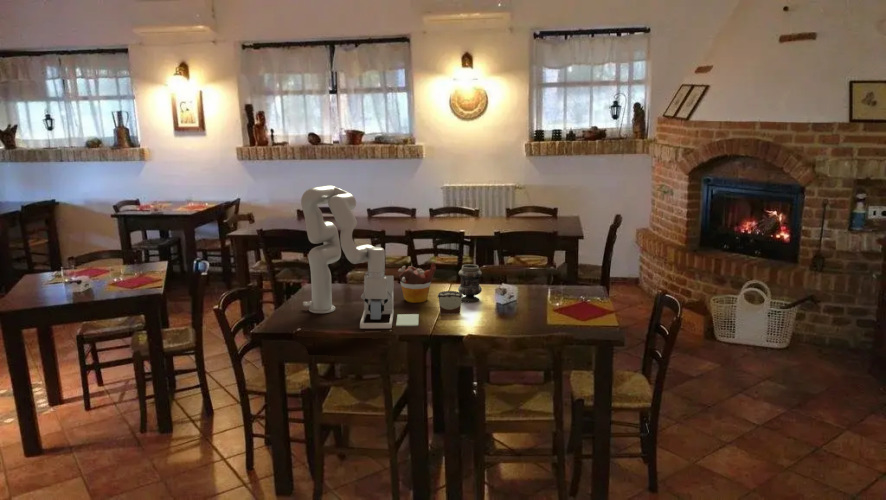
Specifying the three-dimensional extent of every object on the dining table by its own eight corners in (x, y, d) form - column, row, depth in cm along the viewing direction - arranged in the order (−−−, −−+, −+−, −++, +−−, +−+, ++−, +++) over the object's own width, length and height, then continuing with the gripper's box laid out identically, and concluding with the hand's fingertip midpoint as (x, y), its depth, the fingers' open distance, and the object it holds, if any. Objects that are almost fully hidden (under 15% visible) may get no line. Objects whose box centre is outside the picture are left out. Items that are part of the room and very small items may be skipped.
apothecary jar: (482, 297, 355) (482, 263, 352) (481, 303, 344) (481, 269, 340) (458, 296, 357) (459, 262, 353) (457, 302, 345) (457, 268, 341)
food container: (462, 310, 332) (462, 290, 330) (462, 314, 326) (463, 294, 324) (436, 310, 332) (436, 290, 330) (437, 314, 326) (437, 294, 324)
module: (370, 319, 311) (370, 301, 309) (372, 313, 320) (372, 295, 318) (380, 319, 311) (380, 301, 309) (381, 313, 320) (381, 296, 318)
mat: (396, 326, 308) (396, 324, 308) (397, 315, 324) (397, 314, 324) (418, 326, 308) (418, 324, 308) (418, 315, 324) (418, 314, 324)
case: (360, 328, 305) (359, 289, 301) (365, 311, 330) (364, 275, 326) (391, 328, 305) (390, 289, 301) (394, 311, 330) (393, 275, 327)
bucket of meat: (395, 304, 342) (394, 265, 338) (400, 295, 358) (400, 258, 354) (434, 305, 340) (434, 266, 336) (438, 296, 356) (438, 259, 352)
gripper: (357, 276, 307) (357, 314, 311) (394, 276, 308) (394, 315, 312) (358, 271, 315) (358, 309, 319) (395, 272, 315) (394, 310, 319)
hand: (376, 312), depth 315 cm, fingers closed on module, 4 cm apart
